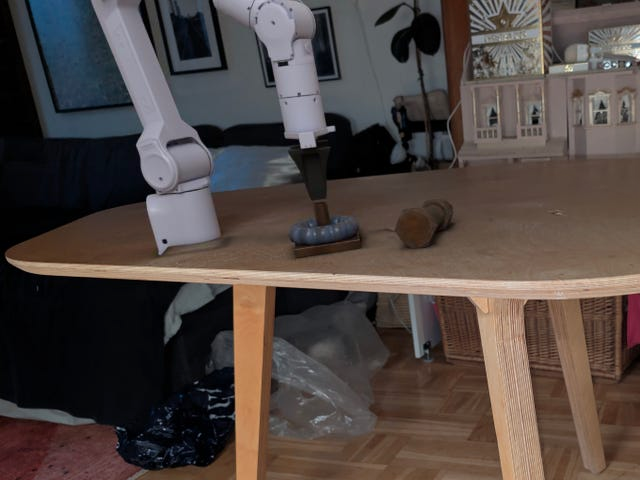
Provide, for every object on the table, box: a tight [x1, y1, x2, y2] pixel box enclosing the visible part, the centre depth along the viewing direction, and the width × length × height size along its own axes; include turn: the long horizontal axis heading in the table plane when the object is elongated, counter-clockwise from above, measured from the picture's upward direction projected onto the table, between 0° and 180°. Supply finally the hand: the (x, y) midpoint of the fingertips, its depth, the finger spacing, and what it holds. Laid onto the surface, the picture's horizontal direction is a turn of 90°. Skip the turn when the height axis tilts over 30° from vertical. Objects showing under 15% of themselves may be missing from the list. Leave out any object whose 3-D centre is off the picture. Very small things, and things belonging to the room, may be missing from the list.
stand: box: [293, 201, 362, 259], centre depth 100 cm, size 9×9×6 cm
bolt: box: [394, 198, 454, 249], centre depth 100 cm, size 6×5×15 cm
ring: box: [287, 214, 360, 245], centre depth 100 cm, size 10×10×2 cm
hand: (318, 195), depth 102 cm, fingers open, 7 cm apart
